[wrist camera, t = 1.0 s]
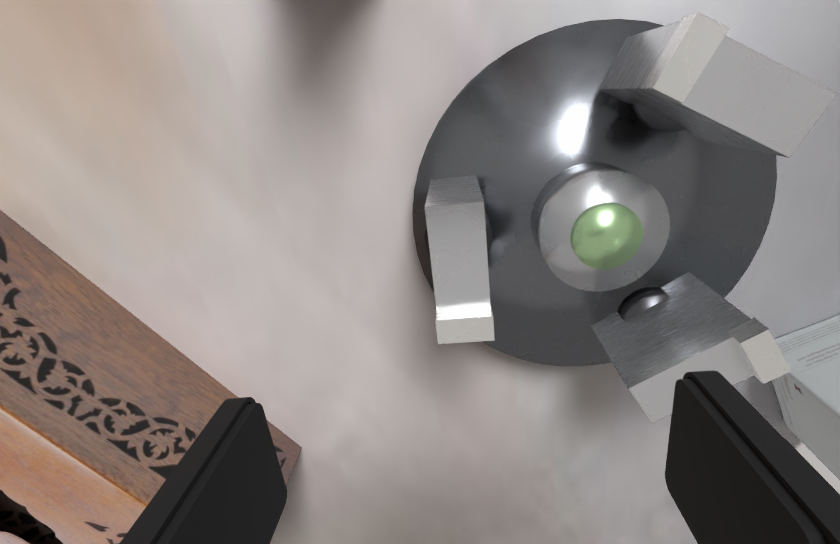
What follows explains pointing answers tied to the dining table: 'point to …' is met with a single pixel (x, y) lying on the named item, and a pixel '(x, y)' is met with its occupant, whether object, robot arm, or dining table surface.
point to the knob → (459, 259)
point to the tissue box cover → (88, 403)
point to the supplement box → (813, 388)
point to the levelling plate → (569, 130)
